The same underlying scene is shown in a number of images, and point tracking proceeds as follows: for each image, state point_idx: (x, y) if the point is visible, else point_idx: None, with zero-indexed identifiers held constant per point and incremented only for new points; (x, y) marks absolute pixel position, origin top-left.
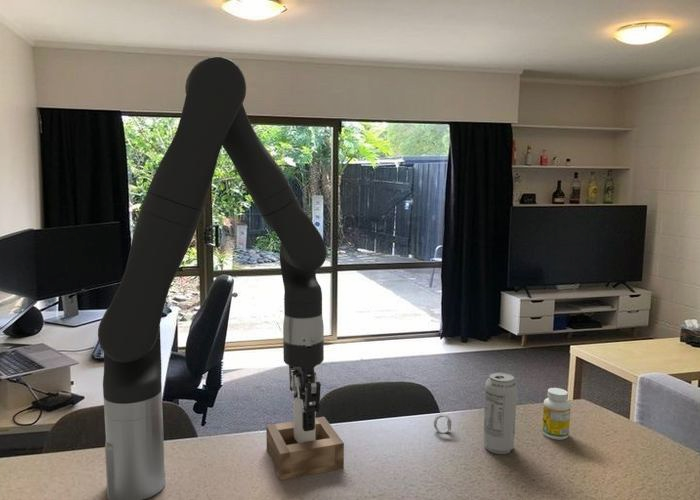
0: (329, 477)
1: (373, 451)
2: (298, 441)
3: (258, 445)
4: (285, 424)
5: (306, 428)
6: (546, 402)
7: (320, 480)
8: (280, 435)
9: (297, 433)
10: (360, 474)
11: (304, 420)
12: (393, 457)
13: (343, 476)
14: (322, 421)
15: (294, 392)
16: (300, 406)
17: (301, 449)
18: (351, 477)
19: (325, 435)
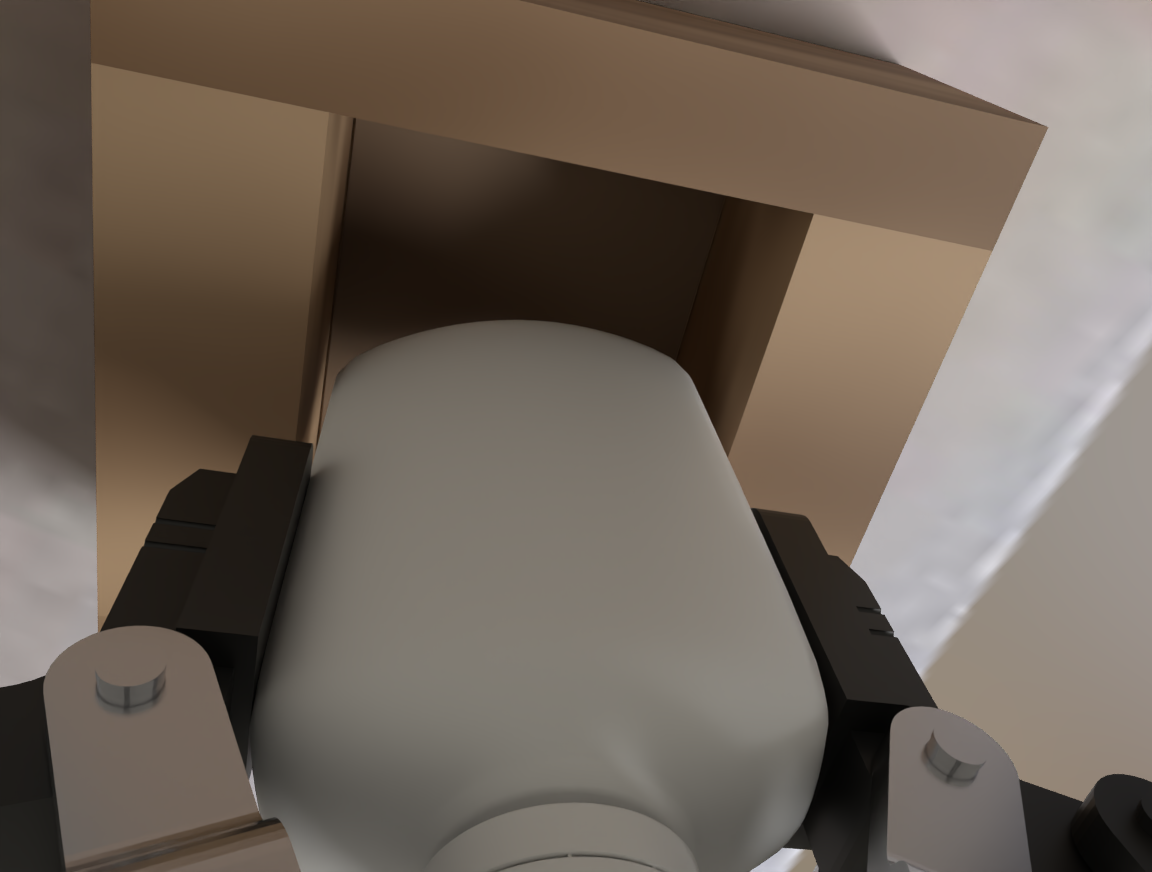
0: (73, 363)
1: None
2: (461, 328)
3: (1034, 20)
4: (883, 359)
5: (186, 479)
6: None
7: (47, 270)
8: (649, 170)
9: (487, 369)
10: (33, 587)
11: (216, 540)
12: None
13: (48, 468)
14: None
15: (883, 826)
16: (395, 682)
17: (116, 244)
18: (8, 513)
19: None
